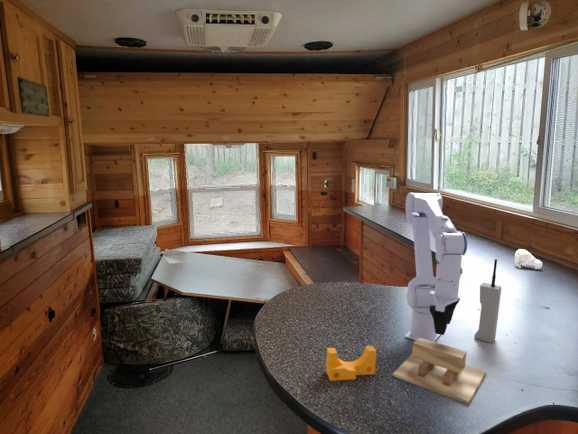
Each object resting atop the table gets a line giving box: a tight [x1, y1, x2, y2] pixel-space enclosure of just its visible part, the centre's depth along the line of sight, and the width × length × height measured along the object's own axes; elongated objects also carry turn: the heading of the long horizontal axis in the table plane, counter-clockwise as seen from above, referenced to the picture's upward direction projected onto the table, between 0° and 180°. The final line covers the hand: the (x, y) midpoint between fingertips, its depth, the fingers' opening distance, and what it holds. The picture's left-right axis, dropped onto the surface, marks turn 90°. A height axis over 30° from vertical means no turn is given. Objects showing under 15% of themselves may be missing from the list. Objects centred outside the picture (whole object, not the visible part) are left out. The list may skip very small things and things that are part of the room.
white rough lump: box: [514, 248, 543, 270], centre depth 198 cm, size 6×8×12 cm
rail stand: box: [392, 354, 487, 406], centre depth 105 cm, size 16×18×3 cm
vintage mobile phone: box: [474, 258, 502, 344], centre depth 123 cm, size 4×5×25 cm
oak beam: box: [411, 337, 467, 373], centre depth 104 cm, size 4×12×4 cm, turn 54°
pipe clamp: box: [325, 345, 377, 382], centre depth 104 cm, size 12×4×6 cm, turn 98°
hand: (442, 328), depth 109 cm, fingers open, 7 cm apart
